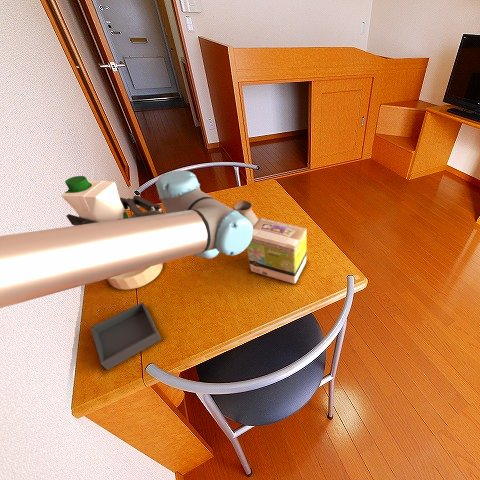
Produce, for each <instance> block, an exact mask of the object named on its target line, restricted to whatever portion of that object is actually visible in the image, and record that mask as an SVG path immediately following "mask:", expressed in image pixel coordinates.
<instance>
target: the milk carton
mask: <svg viewBox="0 0 480 480" xmlns="http://www.w3.org/2000/svg"><path fill="white" fill-rule="evenodd" d="M64 183H65V185H66V187H67V188H68V189H67V190H66V191H65V192H64V193H62V194H61V197H62V199H63V200H65V201H66V202H67V204H68V205H69V206H70V207H71V208H72V209H73V210H74V211H75V212H76V214H77V216H78V217H81V218H84V219H88V220H90V222H91V223H92V222H106V221H113V220H118V219H127V218H129V217H130V216H129V215H128V212H127V211H126V210H125V209H124V207H123V205H122V203H121V201H120V198H121V197H120V195H119V190H118V188H117V184H116V181H114V180H113V181H111V180H110V181H109V180H103V179H102V180H101V179H100V180H95V179H94V180H93V179H87V177H86V176H84V175H76V176H72V177H69V178H67V179H66V180H65V181H64Z"/></svg>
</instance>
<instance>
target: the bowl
mask: <svg viewBox="0 0 480 480" xmlns="http://www.w3.org/2000/svg"><path fill="white" fill-rule="evenodd" d="M163 266H164V263H162V264H158V265H154V266H151V267H147V268H144V269H140V270H136V271H133V272H129V273H126V274H122V275H118V276H115V277H111V278H108V279H106V280H107V281H108V283H109V284H110V285H111V286H112V287H113V288H114V289H118V290H125V291H126V290H134V289H137V288H142V287H143V286H146V285H147V284H149V283H151V282H152V281H153V280H155V279H156V278H157V277H158V276H159V275H160V274H161V272H162V270H163Z"/></svg>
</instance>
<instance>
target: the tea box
mask: <svg viewBox="0 0 480 480" xmlns="http://www.w3.org/2000/svg"><path fill="white" fill-rule="evenodd" d="M258 219H259V220H258V221H257V222H256V224H255V225H254V226H253V235H252V240H251V242H250V244H249V245H248V247H247V248H246V251H247V258H248V263H249V267H250V272H253V273H256V274H259V275H263V276H266V277H270V278H274V279H276V280H280V281H284V282H287V283H289V284H293V285H295V284H296V283H297V281H298V279H299V277H300V275H301V273H302V271H303V269H304V267H305V265H306V263H307V243H308V242H307V240H308V239H307V234H308V233H307V232H308V231H307V230H308V228H307V227H304V226H300V225H295V224H291V223H286V222H282V221H277V220H273V219H271V218H265V217H263V216H261V217H259V218H258Z"/></svg>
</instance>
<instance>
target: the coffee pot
mask: <svg viewBox="0 0 480 480" xmlns="http://www.w3.org/2000/svg"><path fill="white" fill-rule="evenodd" d="M253 208H254V204H253V202H251V201H249V200H245V199H242V200H239V201H237V202H235V203H234V204H233V205H232V209H233V210H235V211H238V212H239V213H240V214H241V215H242V216H244V217H245V218H247V219H248V220H249V221H250V222H251V224H252V226H254V225H255V224H256V222H257V221H258V220H259V219H260V218H258V217H257V215H256V213H255V212H254V211H253V210H252V209H253Z"/></svg>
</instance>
